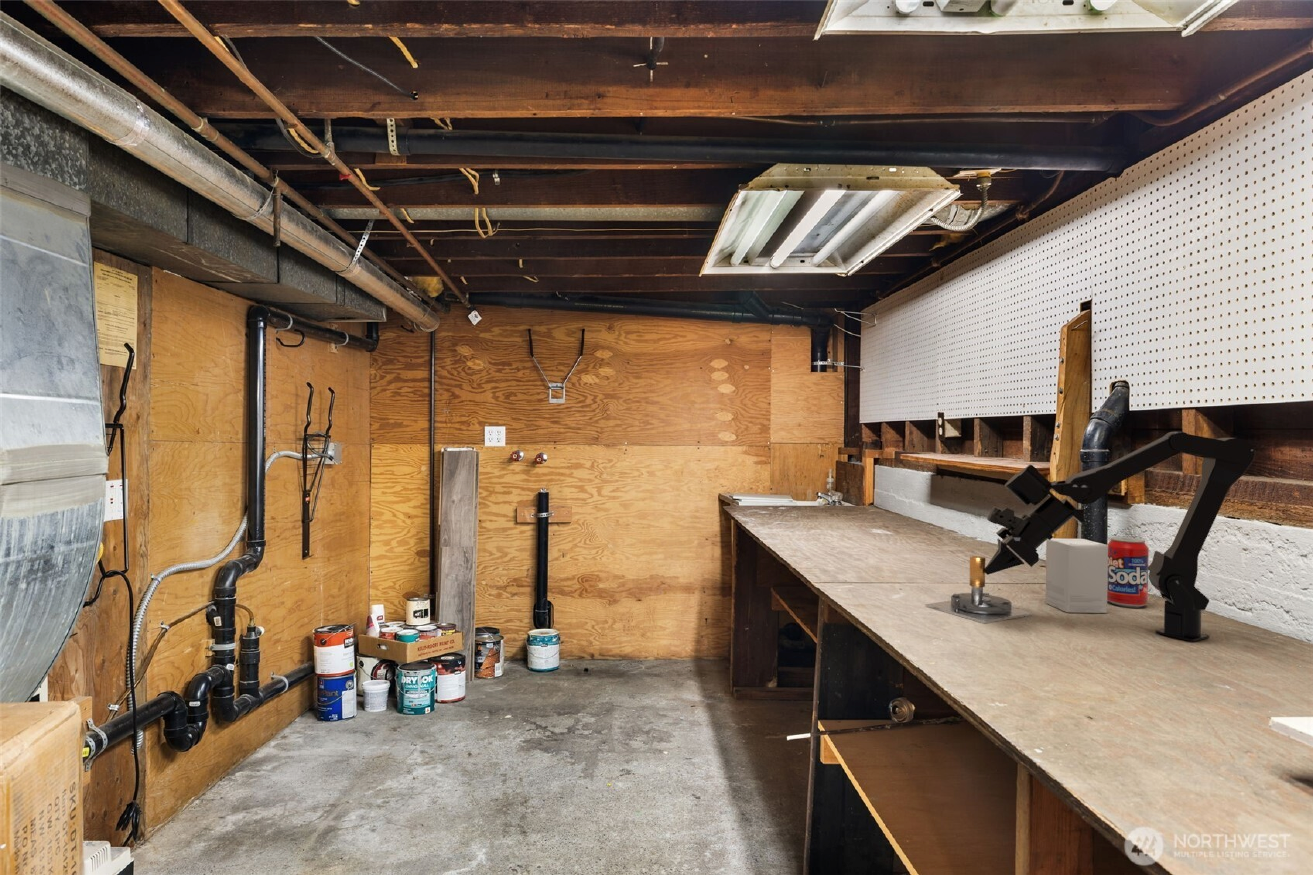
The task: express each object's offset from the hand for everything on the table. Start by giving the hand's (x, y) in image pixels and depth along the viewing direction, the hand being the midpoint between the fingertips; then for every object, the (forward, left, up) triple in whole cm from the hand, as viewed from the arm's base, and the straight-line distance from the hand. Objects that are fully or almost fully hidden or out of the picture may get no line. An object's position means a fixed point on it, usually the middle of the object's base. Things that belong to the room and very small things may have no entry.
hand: (985, 572), depth 147 cm
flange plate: (-3, -4, -9) cm, 11 cm away
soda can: (-39, +7, -10) cm, 41 cm away
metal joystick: (-4, -4, -9) cm, 11 cm away
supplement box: (-25, +4, -10) cm, 27 cm away
